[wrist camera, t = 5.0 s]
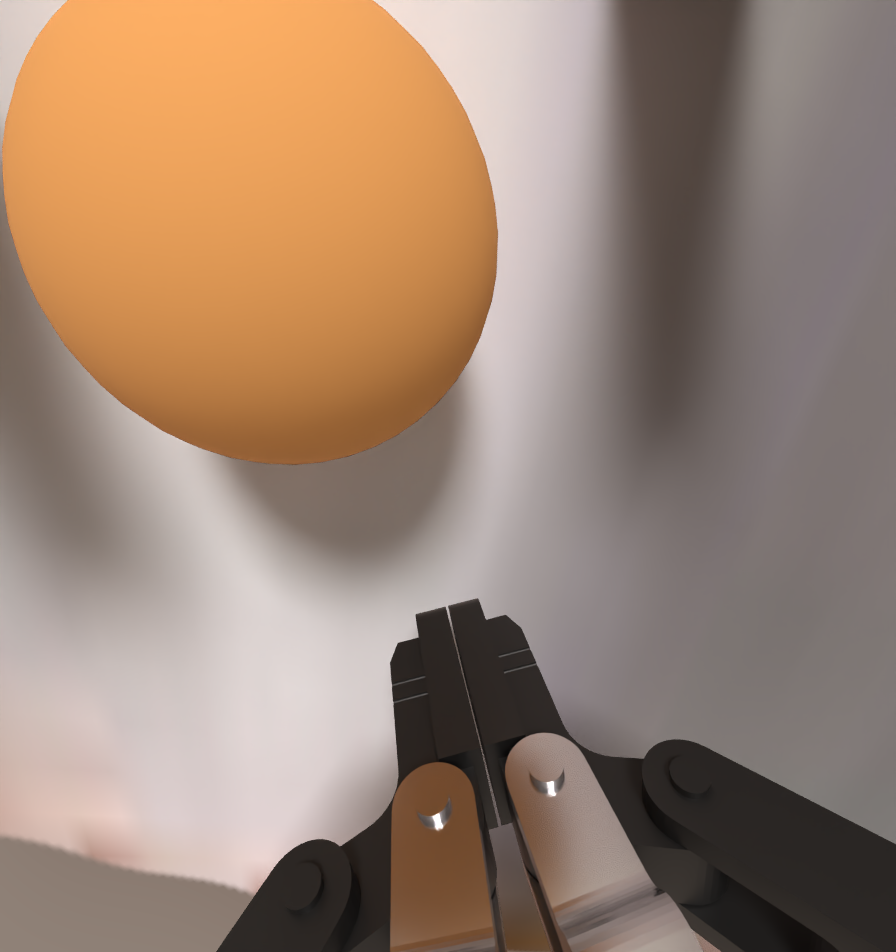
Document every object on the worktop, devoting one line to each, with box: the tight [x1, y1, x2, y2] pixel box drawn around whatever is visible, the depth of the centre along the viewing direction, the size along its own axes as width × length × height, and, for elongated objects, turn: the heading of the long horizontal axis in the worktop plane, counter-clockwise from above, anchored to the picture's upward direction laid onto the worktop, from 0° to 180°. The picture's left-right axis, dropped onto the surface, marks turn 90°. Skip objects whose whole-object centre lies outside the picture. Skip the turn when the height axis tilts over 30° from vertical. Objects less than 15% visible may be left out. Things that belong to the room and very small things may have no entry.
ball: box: [2, 0, 498, 465], centre depth 6 cm, size 6×6×6 cm
